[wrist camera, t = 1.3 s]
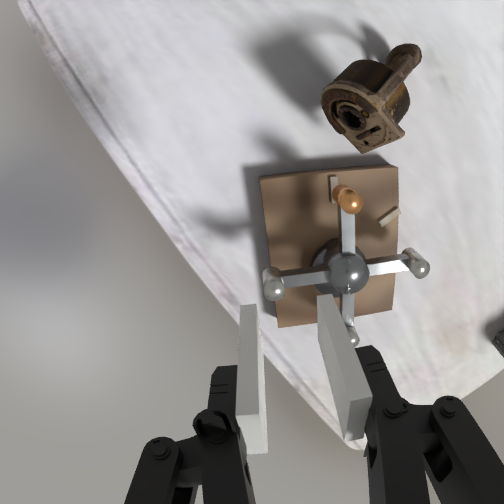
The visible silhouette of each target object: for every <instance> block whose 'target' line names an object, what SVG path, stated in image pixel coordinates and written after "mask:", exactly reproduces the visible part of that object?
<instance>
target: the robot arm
mask: <svg viewBox="0 0 504 504" xmlns="http://www.w3.org/2000/svg"><path fill="white" fill-rule="evenodd" d="M317 318H318V341H319V344H320V348H321V352H322V356H323V359H324V363H325V367H326V371H327V374H328V378H329V382H330V386H331V390H332V394H333V398H334V402H335V406H336V410H337V414H338V418H339V422H340V426H341V430H342V434H343V439H344V442H347V441H352V440H357V439H361V438H363V437H364V433H366V437H367V440H368V441H367V445H366V448H365V452H364V457H366V456H367V463H368V478H369V496H370V504H430V499H429V493H428V487H427V480H426V474H425V471H426V473H427V475H428V477H429V479H430V481H431V483H432V485H433V487H434V489H435V492H436V494H437V496H438V498H439V500H440V502H441V504H504V465H503V463H502V462H501V460H500V458H499V457H498V455H497V453H496V452H495V450H494V449H493V447H492V446H491V444H490V442H489V441H488V439H487V438H486V436H485V435H484V433H483V432H482V430H481V429H480V427H479V426H478V424H477V423H476V421H475V420H474V418H473V417H472V415H471V414H470V412H469V411H468V409H467V408H466V407H465V405H464V404H463V402H461V400H460V399H458V398H456V397H454V396H443V397H440V398H439V399H437V400H436V401H435V403H434V404H433V405H414V404H410V403H409V402H408V401H406V400H405V399H404V398H401V396H400V395H399V393H398V391H397V389H396V386H395V384H394V382H393V380H392V377H391V375H390V373H389V371H388V370H387V367H386V364H385V362H384V360H383V358H382V356H381V354H380V352H379V351H378V350H377V349H375V348H374V347H373V346H372V345H370V346H364V347H359V348H354V346H353V343H352V341H351V338H350V336H349V334H348V331H347V329H346V326H345V324H344V321H343V319H342V316H341V314H340V312H339V309H338V307H337V304H336V302H335V300H334V297H333V295H332V294H327V295H320V296H317ZM239 328H240V329H239V347H238V365H231V366H218V367H217V368H216V370H215V371H214V373H213V374H212V377H211V384H210V385H211V387H210V395H209V400H208V408H207V409H205V410H203V411H202V412H200V413H198V414H197V416H196V417H195V418H194V420H193V427H194V429H195V431H196V433H197V435H195V436H194V437H191V438H188V439H185V440H181V441H177V442H175V441H173V440H172V439H171V438H167V437H158V438H155V439H152V440H151V441H149V442H148V443H147V444H146V446H145V447H144V449H143V452H142V454H141V457H140V460H139V463H138V465H137V468H136V471H135V474H134V477H133V479H132V482H131V485H130V488H129V491H128V494H127V497H126V500H125V503H124V504H194V502H195V498H196V494H197V489H198V485H202V490H203V501H204V504H256V503H255V497H254V493H253V487H252V482H251V477H250V473H249V467H248V463H247V460H246V453H248V454H260V453H268V448H267V447H268V446H267V424H266V402H265V381H264V360H263V344H262V338H261V331H260V325H259V319H258V312H257V306H256V304H250V305H242V306H240V326H239Z"/></svg>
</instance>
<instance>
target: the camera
mask: <svg viewBox="0 0 504 504" xmlns="http://www.w3.org/2000/svg"><path fill="white" fill-rule="evenodd" d="M494 346H495V348H496V349H497V350H498V351H499V352H500V354H501V355H502V356H503V357H504V331H501V332H499V333H498V334H497V336H496V338H495V340H494Z"/></svg>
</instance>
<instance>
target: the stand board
mask: <svg viewBox="0 0 504 504" xmlns="http://www.w3.org/2000/svg"><path fill="white" fill-rule="evenodd" d="M259 180H260V187H261V194H262V202H263V209H264V217H265V225H266V232H267V240H268V248H269V256H270V264H271V267H272V266H273V267H277V268H278V269H279V270H280V271H282V270H290V269H298V268H305V267H310V263H311V260H312V257H313V256H314V254H315V253H316V251H317V250H318V249H319V248H320V247H322V246H323V245H324V244H325V243H326V242H327V241H329V240H330V239H332V238H336V237H339V232H338V209H337V203H336V202H335V201H334V200H333V198H332V191H333V189H334V188H335V187H336V186H337V185H339V184H345V185H347V186H348V187H350V188H351V189H353V190H354V191H355V192H357V193H358V194H359V195H360V196H361V197H362V199H363V207H362V209H361V210H360V211H359V212H358V213H356V214H355V245H356V246H357V247H358V248H359V249H360V250H361V252H362V253H363V254H364V256H365V258H366V259H370V258H377V257H384V256H391V255H397V242H398V215H399V214H401V212H400V210H399V208H398V205H399V191H398V167H396V166H393V165H390V164H389V165H372V166H358V167H345V168H333V169H322V170H312V171H302V172H293V173H284V174H276V175H268V176H260V177H259ZM395 273H396V272H392V273H386V274H380V275H373V276H369V280H368V282H367V284H366V285H365V286H364V288H362V289H361V290H360V291H358V292H356V293H355V297H354V317H356V316H362V315H367V314H373V313H378V312H384V311H389V310H392V305H393V295H394V285H395ZM284 290H285V294H284V296H283V298H282V299H280V300H278V301H275V305H276V313H277V322H278V328H282V327H290V326H298V325H305V324H312V323H318V318H317V296H320V295H324V294H322V293H320V292H319V291H318V290H317V289H316V287H315V285H314V284H312V285H305V286H298V287H290V288H284ZM334 300H335V302H336V304H337V307H338V309H340V297H338V298H334Z"/></svg>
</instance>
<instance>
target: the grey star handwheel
mask: <svg viewBox="0 0 504 504" xmlns="http://www.w3.org/2000/svg"><path fill="white" fill-rule="evenodd" d="M332 198H333V200H334V201H335V202H336V203H337V209H338V232H339V237H336V238H332V239H330V240H329V241H327V242H326V243H325V244H324V245H323V246H322V247H320V248H319V249H318V250H317V251H316V253H315V254H314V256H313V257H312V260H311V263H310V267H305V268H298V269H290V270H282V271H280V270H279V269H278V268H277V267H273V266H272V267H268V268H266V269H265V270H264V271H263V274H262V276H263V290H264V296H265V298H266V299H267V300H269V301H278V300H280V299H282V298H283V296H284V294H285V290H284V288H290V287H298V286H305V285H312V284H314V285H315V287H316V289H317V290H318V291H319V292H320V293H322V294H324V295H327V294H332V295H333V297H334V298H338V297H340V309H339V312H340V314H341V316H342V319H343V321H344V324H345V326H346V329H347V331H348V334H349V336H350V338H351V341H352V343H353V346H354V347H356V346H357V345H358V344H359V341H360V340H359V337H358V335H357V332H356V330H355V328H354V325H353V321H354V297H355V293H356V292H358V291H360V290H361V289H362V288H364V286H365V285H366V284H367V282H368V280H369V276H373V275H380V274H386V273H392V272H398V271H404V270H410V271H411V272H412V273H413V275H414V276H415V277H416V278H418V279H421V278H424V277H425V276H427V274H428V273H429V271H430V265H429V263H428V262H427V261H426V260H425V259H424V258H423V257H422V256H420V255H419V254H418V253H417V252H416V251H415V250H414V249H413V248H406V249H405V250H404V251H403V252H402V254H397V255H391V256H384V257H377V258H370V259H366V258H365V256H364V254H363V253H362V252H361V250H360V249H359V248H358V247H357V246H356V245H355V214H356V213H358V212H359V211H360V210H361V209H362V207H363V199H362V197H361V196H360V195H359V194H358V193H357V192H355V191H354V190H353V189H351V188H350V187H348V186H347V185H345V184H339V185H337V186H336V187H335V188H334V189H333V191H332Z"/></svg>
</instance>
